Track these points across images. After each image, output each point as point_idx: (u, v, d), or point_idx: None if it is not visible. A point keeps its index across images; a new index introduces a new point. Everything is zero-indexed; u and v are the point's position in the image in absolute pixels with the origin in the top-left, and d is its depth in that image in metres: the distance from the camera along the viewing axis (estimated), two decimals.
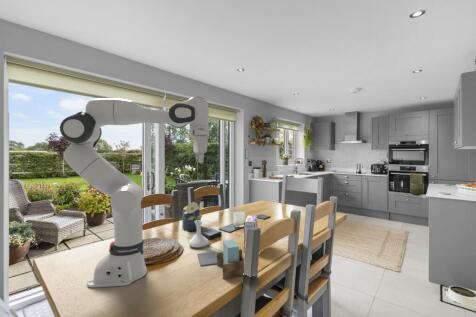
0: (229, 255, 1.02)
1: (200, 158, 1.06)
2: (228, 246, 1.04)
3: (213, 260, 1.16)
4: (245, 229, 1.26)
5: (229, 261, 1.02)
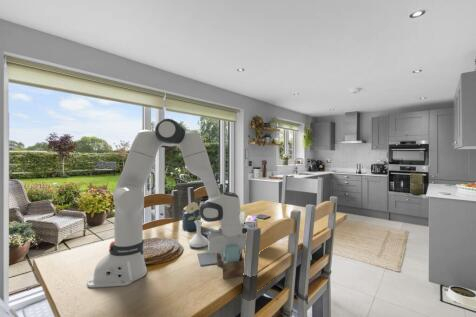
0: (229, 255, 1.02)
1: None
2: (228, 246, 1.04)
3: (213, 260, 1.16)
4: None
5: (229, 261, 1.02)
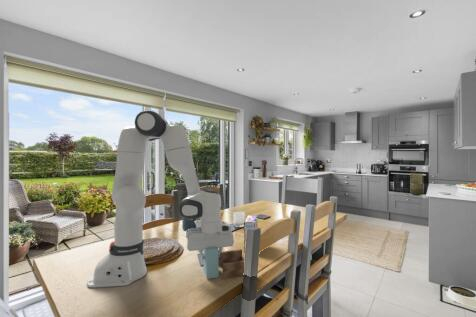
0: (208, 258, 1.00)
1: None
2: (207, 248, 1.01)
3: None
4: (245, 229, 1.26)
5: (208, 264, 1.00)
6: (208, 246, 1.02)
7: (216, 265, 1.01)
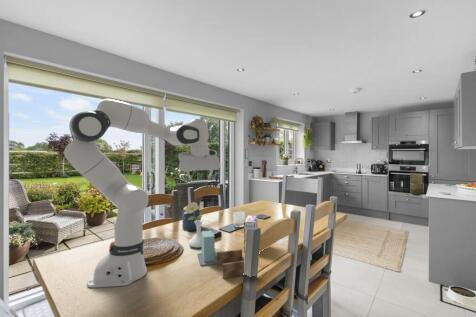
0: (205, 244, 1.14)
1: (211, 174, 1.23)
2: (205, 236, 1.15)
3: None
4: (245, 229, 1.26)
5: (205, 249, 1.14)
6: (197, 167, 1.19)
7: (212, 250, 1.15)
